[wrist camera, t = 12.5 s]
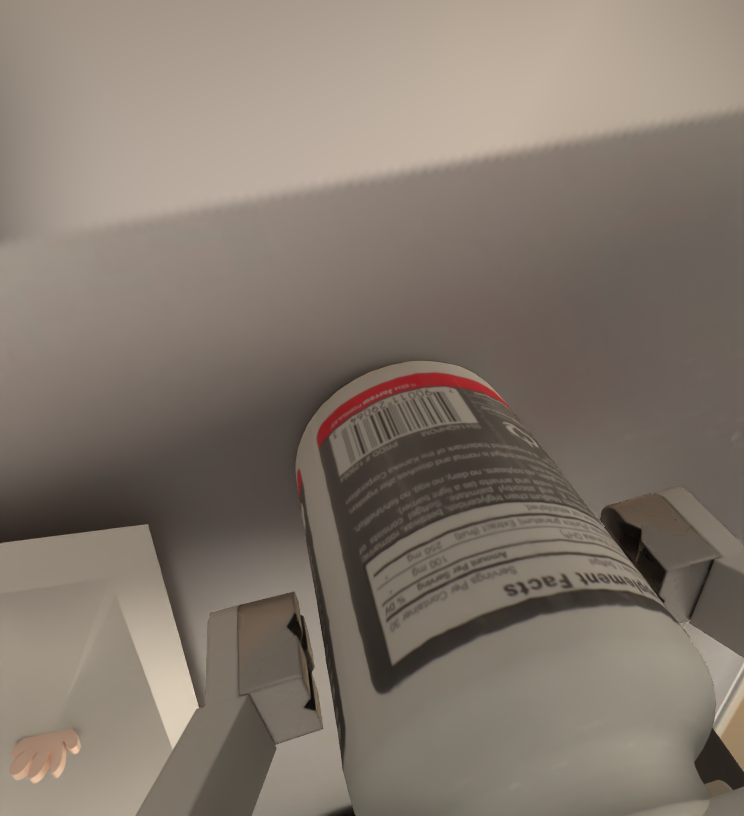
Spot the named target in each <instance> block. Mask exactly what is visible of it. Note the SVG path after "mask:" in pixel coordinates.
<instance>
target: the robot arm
mask: <svg viewBox="0 0 744 816" xmlns="http://www.w3.org/2000/svg"><path fill="white" fill-rule="evenodd" d="M600 520H601V522H602V523H603V524H604V526H605V527H604V528H605V529H606V530H607V531H608V533H609V534H610V535H611V537H612V538H613V539H614V541H615V542H616V543H617V545H618V546H619V547H620V548H621V550H622V551H623V552H624V554H625V555H626V556H627V558H628V559H629V560H630V561H631V563H632V564H633V565H634V567H635V568H636V569H637V570H638V571H639V572H640V574H641V575H642V576H643V577H644V579H645V580H646V581H647V583H648V584H649V586H650V587H651V588H652V590H653V591H654V592H655V594H656V595H657V596H658V597H659V598H660V600H661V601H662V602H663V603H664V605H665V606H666V607H667V608H668V610H669V611H670V613H671V614H672V615H673V617H674V618H675V619H676V620H677V621H678V622H679V623H681V622H685V621H689V620H690V622H689V623H690V624H692V625H693V626H695V627H697V628H698V629H700V630H701V631H703V632H704V633H706V634H707V635H709V636H711V637H712V638H714V639H715V640H717V641H718V642H720V643H722V644H723V645H725V646H726V647H728V648H729V649H731V650H732V651H734V652H736V653H737V654H739V655H740V656H742V657H743V658H744V545H743V544H742V543H741V542H740V541H739V540H738V539H737V538H736V537H735V536H734V535H733V534H732V533H731V532H730V531H729V530H728V529H727V528H725V527H724V526H723V525H722V524H721V523H720V522H719V521H718V520H717V519H716V518H715V517H714V516H713V515H712V514H711V513H710V512H709V511H708V510H707V509H706V508H705V507H704V506H703V505H702V504H701V503H700V502H699V501H698V500H697V499H696V498H694V497H693V496H692V495H691V494H690V493H689V492H688V491H687V490H686V489H683V488H681V487H675V488H671V489H667V490H664V491H661V492H657V493H654V494H651V493H650V494H647V495H643V496H640V497H636V498H633V499H629V500H626V501H623V502H619V503H616V504H612V505H609V506H606V507H605V508H604V509H603V510H602V513H601V518H600ZM314 667H315V666H314V660H313V653H312V648H311V643H310V638H309V633H308V629H307V626H306V622H305V619H304V616H302V615H300V609H299V602H298V599H297V597H296V594H295V592H290V593H286V594H282V595H278V596H274V597H270V598H266V599H262V600H258V601H254V602H250V603H246V604H242V605H237V606H234V607H230V608H226V609H222V610H219V611H215V612H211V613H210V616H209V620H208V627H207V658H206V689H205V706H204V707H201V708H198V709H196V710H195V712H194V714H193V716H192V717H191V719H190V721H189V723H188V724H187V726H186V728H185V730H184V731H183V733H182V735H181V737H180V738H179V740H178V742H177V744H176V745H175V747H174V749H173V751H172V752H171V754H170V756H169V758H168V759H167V761H166V763H165V765H164V766H163V768H162V770H161V772H160V773H159V775H158V777H157V779H156V780H155V782H154V784H153V786H152V787H151V789H150V791H149V793H148V794H147V796H146V798H145V800H144V801H143V803H142V805H141V807H140V808H139V810H138V812H137V814H136V815H135V816H251V815H252V813H253V810H254V807H255V805H256V802H257V799H258V797H259V794H260V791H261V789H262V786H263V783H264V780H265V778H266V775H267V772H268V770H269V767H270V764H271V762H272V759H273V756H274V754H275V751H276V746H275V745H276V744H279V743H282V742H285V741H288V740H291V739H294V738H297V737H300V736H303V735H306V734H309V733H312V732H315V731H318V730H321V729H323V724H322V717H321V709H320V702H319V695H318V690H317V687H316V684H315V681H314V678H313V676H312V671H313V669H314ZM707 800H710V804H709V807H708V809H707V811H706V812H705V814H704V815H703V816H744V787H742V788H739V789H736V790H733V791H730V792H727V793H724V794H721V795H718V796H715V797H712V798H709V799H707Z"/></svg>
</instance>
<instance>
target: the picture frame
mask: <svg viewBox="0 0 744 816" xmlns="http://www.w3.org/2000/svg"><path fill="white" fill-rule="evenodd" d="M198 708H199V706H198V702H197V699H196V695H195V692H194V688H193V684H192V681H191V677H190V674H189V670H188V666H187V663H186V659H185V655H184V652H183V648H182V645H181V641H180V637H179V634H178V630H177V627H176V623H175V619H174V616H173V612H172V609H171V605H170V601H169V598H168V594H167V591H166V587H165V583H164V580H163V576H162V573H161V569H160V565H159V562H158V558H157V555H156V551H155V547H154V544H153V540H152V536H151V533H150V529H149V526H148V524H145V525H137V526H129V527H122V528H114V529H106V530H98V531H90V532H83V533H75V534H67V535H59V536H51V537H44V538H36V539H28V540H20V541H13V542H5V543H0V816H135V815H136V814H137V812H138V810H139V808H140V807H141V805H142V803H143V801H144V800H145V798H146V796H147V794H148V793H149V791H150V789H151V787H152V786H153V784H154V782H155V780H156V779H157V777H158V775H159V773H160V772H161V770H162V768H163V766H164V765H165V763H166V761H167V759H168V758H169V756H170V754H171V752H172V751H173V749H174V747H175V745H176V744H177V742H178V740H179V738H180V737H181V735H182V733H183V731H184V730H185V728H186V726H187V724H188V723H189V721H190V719H191V717H192V716H193V714H194V712H195V710H196V709H198Z"/></svg>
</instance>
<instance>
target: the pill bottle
mask: <svg viewBox="0 0 744 816" xmlns="http://www.w3.org/2000/svg"><path fill="white" fill-rule="evenodd" d="M296 481H297V488H298V496H299V501H300V509H301V514H302V519H303V524H304V530H305V535H306V542H307V548H308V554H309V560H310V565H311V571H312V577H313V582H314V588H315V593H316V598H317V605H318V612H319V618H320V625H321V631H322V636H323V642H324V648H325V656H326V664H327V669H328V674H329V680H330V686H331V692H332V698H333V705H334V711H335V718H336V724H337V730H338V737H339V744H340V750H341V759H342V768H343V772H344V776H345V780H346V784H347V788H348V792H349V796H350V799H351V803H352V806H353V810H354V813H355V815H356V816H703V815H704V814H705V812H706V811H707V809H708V807H709V804H710V800H707V799H709V798H712V796H711V794H710V793H709V791H708V790H707V788H706V786H705V785H704V783H703V782H702V780H701V778H700V777H699V774H698V772H697V770H696V768H695V764H694V762H695V760H696V759H697V757H698V756H699V754H700V753H701V751H702V750H703V748H704V746H705V744H706V742H707V740H708V738H709V735H710V733H711V730H712V727H713V723H714V717H715V708H716V700H715V691H714V684H713V682H712V679H711V676H710V673H709V670H708V668H707V665H706V664H705V662H704V660H703V658H702V656H701V654H700V653H699V651H698V650H697V649H696V647H695V646H694V644H693V643H692V642H691V639H690V637H689V635H688V634H687V633H686V631H685V630H684V629H683V627H682V626H681V625H680V624H679V622H678V621H677V620H676V619H675V618H674V617H673V615H672V614H671V613H670V611H669V610H668V608H667V607H666V606H665V605H664V603H663V602H662V601H661V600H660V598H659V597H658V596H657V595H656V594H655V592H654V591H653V590H652V588H651V587H650V586H649V584H648V583H647V581H646V580H645V579H644V577H643V576H642V575H641V574H640V572H639V571H638V570H637V569H636V568H635V567H634V565H633V564H632V563H631V561H630V560H629V559H628V558H627V556H626V555H625V554H624V552H623V551H622V550H621V548H620V547H619V546H618V545H617V543H616V542H615V541H614V539H613V538H612V537H611V535H610V534H609V533H608V531H607V530H606V529H605V528H604V527H603V526H602V524H601V523H600V522H599V521H598V519H597V518H596V517H595V516H594V514H593V513H592V512H591V511H590V509H589V508H588V507H587V505H586V504H585V503H584V502H583V500H582V499H581V498H580V497H579V495H578V494H577V493H576V491H575V490H574V489H573V487H572V486H571V485H570V483H569V482H568V481H567V479H566V478H565V477H564V476H563V474H562V473H561V472H560V470H559V469H558V468H557V466H556V465H555V463H554V462H553V461H552V460H551V459H550V457H549V456H548V455H547V454H546V453H545V451H544V450H543V449H542V448H541V446H540V445H539V444H538V443H537V442H536V440H535V439H534V438H533V436H532V435H531V434H530V432H529V431H528V430H527V429H526V428H525V427H524V425H523V424H522V423H521V421H520V420H519V419H518V418H517V416H516V415H515V414H514V413H513V412H512V410H511V409H510V408H509V406H508V405H507V404H506V403H505V402H504V400H503V399H502V398H501V397H500V395H499V394H498V393H497V392H496V391H495V390H494V389H493V388H492V387H491V386H490V385H489V384H488V383H487V382H486V381H484V380H483V379H481V378H480V377H478V376H477V375H476V374H475V373H473V372H471V371H469V370H467V369H465V368H462V367H460V366H457V365H452V364H447V363H440V362H433V361H408V362H403V363H399V364H394V365H389V366H386V367H383V368H380V369H377V370H374V371H371V372H369V373H367V374H365V375H363V376H361V377H359V378H357V379H355V380H353V381H352V382H350V383H349V384H347V385H345V386H344V387H342V388H341V389H339V390H338V391H337V392H336V393H335V394H333V395H332V396H331V397H330V398H329V399H328V400H327V401H326V402H325V403H323V404H322V406H321V407H320V408H319V409H318V411H317V412H316V413H315V415H314V416H313V418H312V419H311V420H310V422H309V423H308V425H307V427H306V429H305V432H304V434H303V436H302V438H301V441H300V444H299V447H298V452H297V457H296Z"/></svg>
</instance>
